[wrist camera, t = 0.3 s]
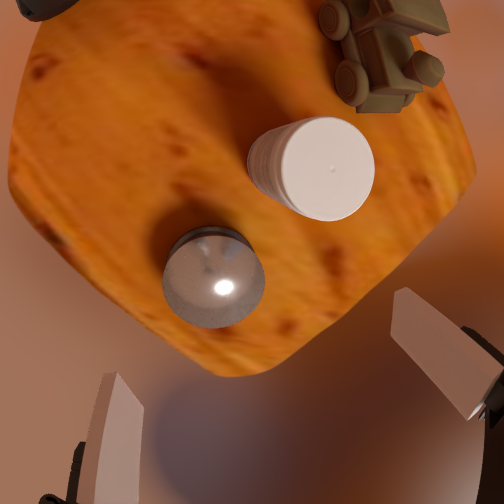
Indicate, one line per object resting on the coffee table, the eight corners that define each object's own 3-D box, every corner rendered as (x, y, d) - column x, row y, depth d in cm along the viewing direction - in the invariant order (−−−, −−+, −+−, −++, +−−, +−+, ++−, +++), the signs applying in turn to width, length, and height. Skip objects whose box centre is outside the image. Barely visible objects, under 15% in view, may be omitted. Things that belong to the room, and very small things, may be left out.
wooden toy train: (307, 1, 26) (361, -53, 11) (368, 10, 27) (430, -24, 12) (336, 115, 34) (417, 102, 18) (395, 114, 35) (475, 111, 20)
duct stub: (153, 241, 35) (146, 254, 31) (244, 213, 36) (251, 222, 32) (184, 318, 40) (183, 338, 36) (265, 294, 41) (273, 312, 37)
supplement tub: (266, 209, 37) (305, 244, 23) (232, 148, 33) (255, 143, 20) (324, 177, 37) (388, 194, 23) (296, 117, 33) (353, 100, 20)
